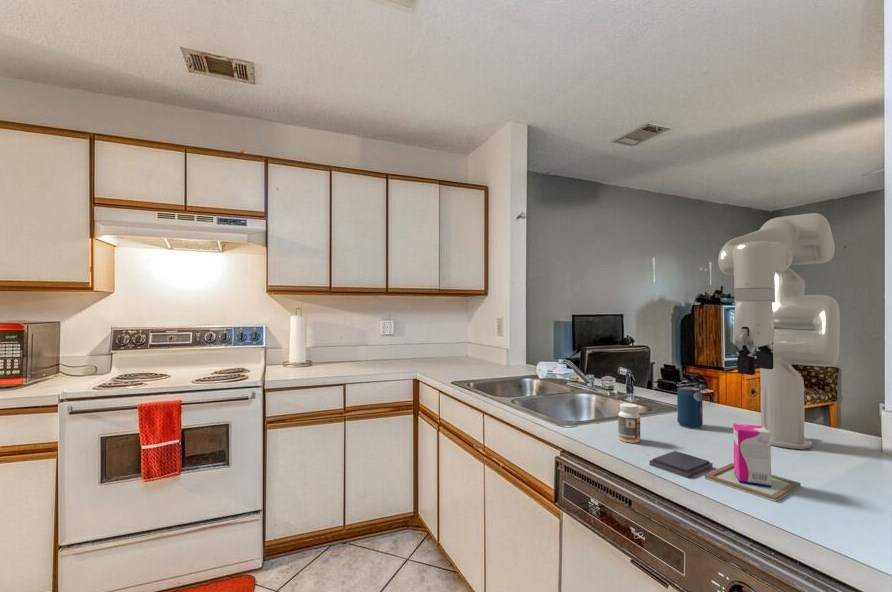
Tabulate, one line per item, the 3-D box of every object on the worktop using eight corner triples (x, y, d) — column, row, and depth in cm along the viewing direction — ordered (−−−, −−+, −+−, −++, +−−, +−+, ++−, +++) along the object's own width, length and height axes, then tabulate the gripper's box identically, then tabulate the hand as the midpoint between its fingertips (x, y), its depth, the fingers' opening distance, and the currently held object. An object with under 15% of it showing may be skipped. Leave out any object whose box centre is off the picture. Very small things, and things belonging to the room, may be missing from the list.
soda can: (707, 429, 128) (707, 390, 129) (684, 429, 129) (684, 390, 129) (694, 422, 135) (694, 385, 136) (672, 422, 135) (672, 385, 136)
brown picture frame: (731, 466, 99) (731, 463, 99) (800, 486, 88) (800, 482, 88) (704, 478, 92) (704, 475, 92) (775, 501, 81) (775, 498, 81)
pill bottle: (642, 444, 114) (642, 407, 115) (620, 442, 116) (620, 406, 116) (637, 437, 120) (637, 403, 120) (616, 436, 121) (616, 402, 121)
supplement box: (764, 477, 92) (764, 425, 92) (772, 488, 86) (771, 432, 87) (733, 473, 94) (732, 422, 95) (738, 483, 89) (738, 429, 89)
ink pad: (674, 455, 106) (674, 449, 106) (712, 467, 98) (712, 461, 98) (649, 464, 100) (649, 458, 100) (688, 478, 92) (688, 471, 92)
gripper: (751, 295, 103) (753, 364, 103) (718, 297, 93) (719, 373, 93) (789, 295, 96) (790, 368, 97) (757, 297, 87) (759, 379, 87)
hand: (755, 371), depth 95 cm, fingers open, 9 cm apart
